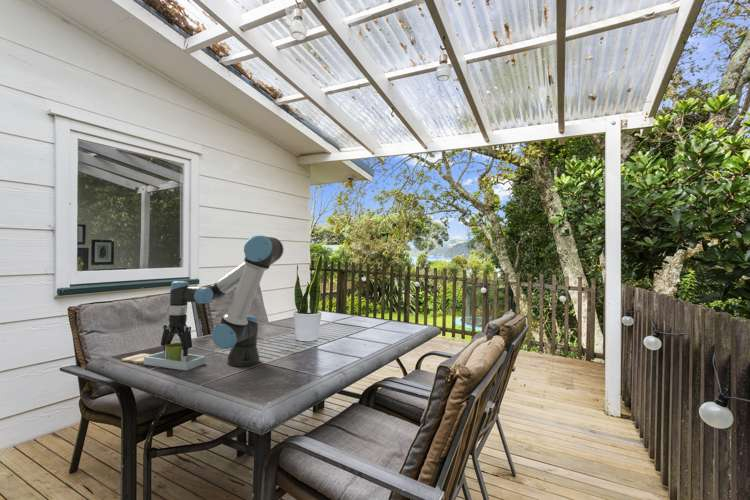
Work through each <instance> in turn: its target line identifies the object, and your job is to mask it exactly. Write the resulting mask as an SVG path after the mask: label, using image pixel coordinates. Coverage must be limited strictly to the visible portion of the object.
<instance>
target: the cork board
mask: <svg viewBox="0 0 750 500" xmlns="http://www.w3.org/2000/svg"><path fill="white" fill-rule="evenodd" d="M149 355H152V354H151V353H144V352H143V353H137V354H134V355H131V356H127V357H124V358H123V357H122V358H121V359H120V362H124V361H126V362H125V363H131V362H133V363H132V364H138V363H139V364H140V365H142V364H144V357H146V356H149Z"/></svg>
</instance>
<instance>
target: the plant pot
mask: <svg viewBox="0 0 750 500" xmlns="http://www.w3.org/2000/svg"><path fill="white" fill-rule="evenodd" d="M165 347H166V350H167V358H168V360H175V361H181V350H182V349H183V347H182V344H181V342H173V343H172V342H171V344H167V345H165ZM185 347H186V346H185Z"/></svg>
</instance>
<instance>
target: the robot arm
mask: <svg viewBox="0 0 750 500" xmlns="http://www.w3.org/2000/svg"><path fill="white" fill-rule="evenodd" d="M243 253H244V258H243V261H244V262H243V263H241V264H240V265H238V266H237V267H235V268H234V269H233V270H231V271H230V272H228V273H227V274H226V275H224V276H223V277H221V278H220V279H219V280H217V281H216V282H214V283H212V285H204V286H190V285H189V282H188V281H179V280H178V281H172V282H171V285H170V290H169V294H170V295H169V307H168V308H169V312H168V314H169V315H168V323H169V324H165V325H163V333H162V337H161V341H160V347H161V346H163V348H164V349H163V350H164V354H165V359H168V358H167V350H166V347H165V345H167V344H172V341H173V338H174V337H175V335H177V336H178V338H179V341H180V343H181V344H182V347H183V349H182V350H181V361H183V362H186V356H187V355H188V354H189V353H188V352H189V349H190V348H193V342H192V333H191V332H192V331H191V330H192V327H191V326H188V325H186V323H187V318H188V315H187V313H188V303H196V304H202V305H203V304H208V303H210V302H211V301H219V300H222V299H224V298H225V297H226V296H227V294H228V293H229V292H230V291H232V290H233V289H235V288H236V290H235V291H234V295H233V297H232V300H231V303H230V306H229V309H228V311H227V312H226V313H224V314H223V315H222V317H221V319H220V322H219V323H218V324H216V325H215V326H214V327H213V329H212V331H211V340H212V341H213V344H214V346H216V347H218V348H219V349H222V350H227V349H230V351H229V353H228V357H227V361H226V364H227V365H229V366H231V367H250V366H256V365H258V364H260V353H259V350H258V333H259V331H258V329H259V318H258V317H257V316H253V315H252V316H251V315H248V314H249V312H250V309H251V307H252V304H253V302H254V298H255V296H256V294H257V290H258V288H259V286H260V283H261V280H262V278H263V275H264V272H265V271H267V270H269V269H270V266H271V265H273V264H275V263H276V262H277V261H278V260H280V259H281V257H282V256H283V254H284V245H283V243H282V242H281V241H280V240H279V239H278V238H275V237H271V236H267V235H254V236H252V237H250V238H249V239H247V241H245V243H244V247H243ZM185 346H186V347H185Z"/></svg>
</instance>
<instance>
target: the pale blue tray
mask: <svg viewBox="0 0 750 500" xmlns="http://www.w3.org/2000/svg"><path fill="white" fill-rule="evenodd" d="M205 364H206V356H205V355H198V354H190V353H188V355H187V356H186V362H183V361H175V360H168V359H165V354H164V351H161V352H157V353H153V354H151V355H149V356H146V357H144V363H143V365H146V366H152V367H159V368H167V369H174V370H180V371H181V370H182V371H189V370H192V369H194V368H197V367H200V366H201V365H205Z"/></svg>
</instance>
